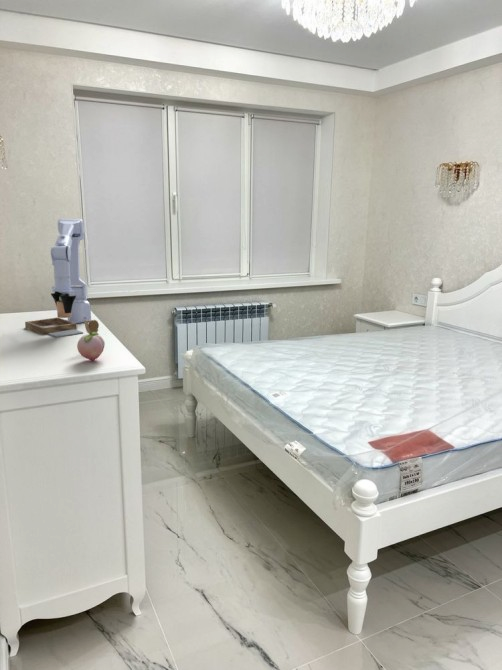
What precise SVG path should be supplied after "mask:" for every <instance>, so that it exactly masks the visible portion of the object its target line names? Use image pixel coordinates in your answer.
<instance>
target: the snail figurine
mask: <svg viewBox="0 0 502 670" xmlns="http://www.w3.org/2000/svg"><path fill="white" fill-rule="evenodd" d="M83 318H85V319H86V317H83ZM83 323H84V326H85V327H84V328H85V331H86V334H90V331H91V332H96V333H98V332H99V326H100V325H99V322H98V320H96V319H91V321H87V320H84V322H83Z"/></svg>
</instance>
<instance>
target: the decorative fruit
mask: <svg viewBox="0 0 502 670" xmlns="http://www.w3.org/2000/svg"><path fill="white" fill-rule="evenodd" d="M105 345H106V343H105V340H104V338H103V337H102V336H101V335H100V334H99V333H98V332H97V333H96V332H91V331H90V334H89V333H86V334H84V335H82V336H81V337H80V338H79V340H78V341H77V344H76V347H77V351H78V353H79V355H80V356H82V357H83V358H85V359H87V360H89V361H91V362H92V361H95V360H97V359H98V358H99V357H100V356H101V355H102V354H103V352H104V350H105V349H104V348H105Z"/></svg>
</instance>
